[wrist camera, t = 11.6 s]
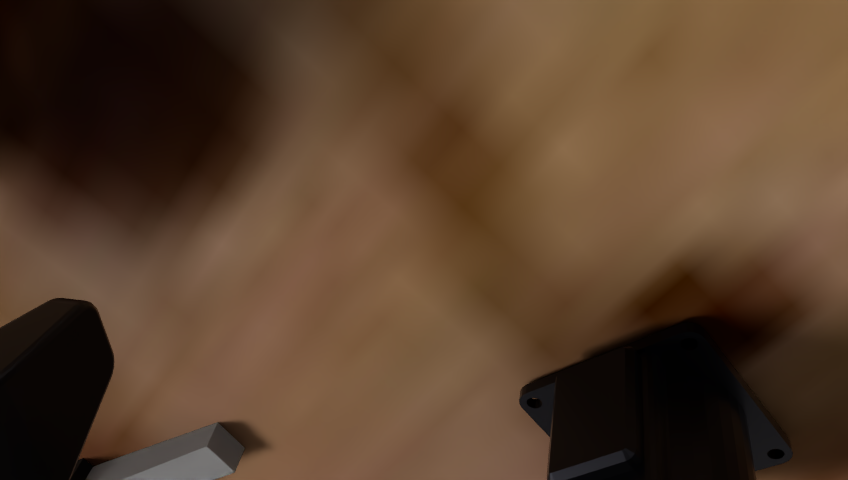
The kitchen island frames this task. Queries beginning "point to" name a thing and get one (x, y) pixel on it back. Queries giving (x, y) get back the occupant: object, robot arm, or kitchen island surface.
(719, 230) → the kitchen island surface
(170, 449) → the door handle
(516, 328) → the kitchen island surface
